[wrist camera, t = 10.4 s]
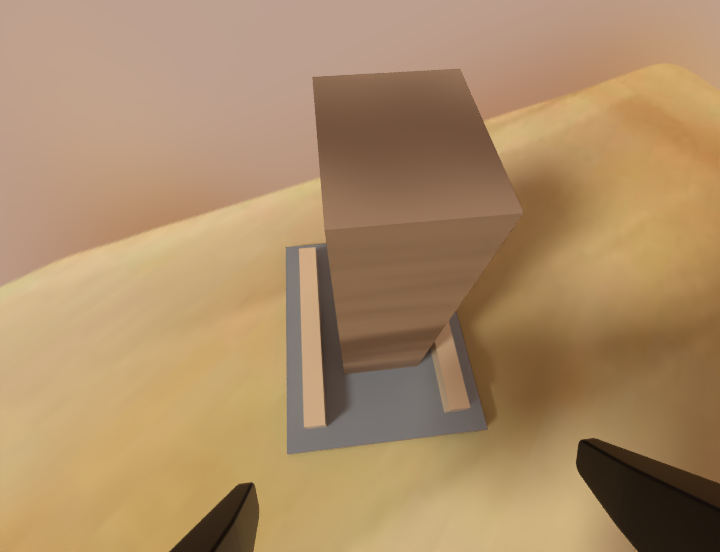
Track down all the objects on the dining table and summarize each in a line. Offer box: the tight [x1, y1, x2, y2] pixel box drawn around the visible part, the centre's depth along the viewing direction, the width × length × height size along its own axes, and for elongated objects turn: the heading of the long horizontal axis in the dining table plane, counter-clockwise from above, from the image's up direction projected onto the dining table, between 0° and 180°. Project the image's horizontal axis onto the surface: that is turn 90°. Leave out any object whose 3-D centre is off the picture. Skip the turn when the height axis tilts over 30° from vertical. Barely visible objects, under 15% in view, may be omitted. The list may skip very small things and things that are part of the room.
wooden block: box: [313, 69, 524, 374], centre depth 13 cm, size 5×4×13 cm
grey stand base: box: [286, 244, 488, 454], centre depth 19 cm, size 12×10×2 cm
